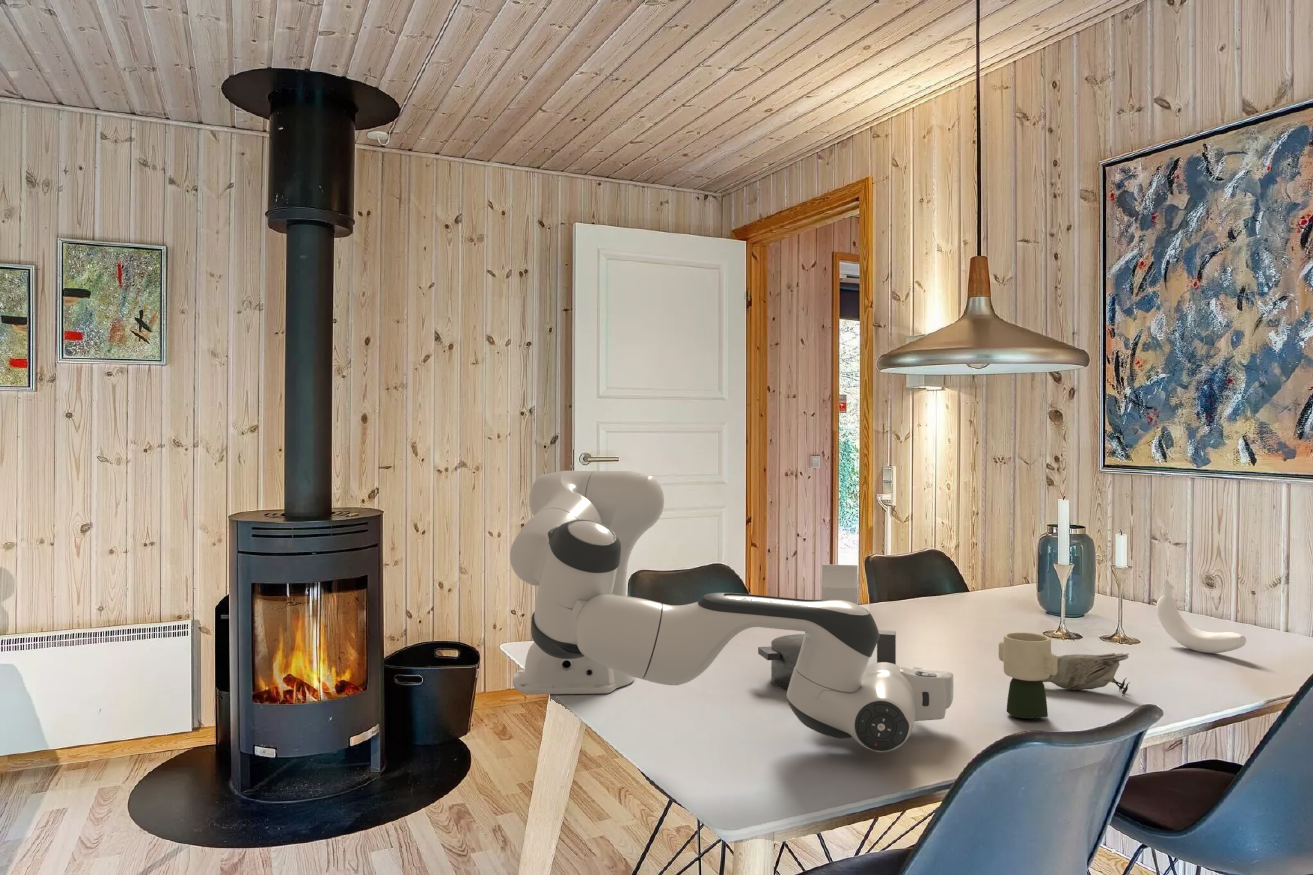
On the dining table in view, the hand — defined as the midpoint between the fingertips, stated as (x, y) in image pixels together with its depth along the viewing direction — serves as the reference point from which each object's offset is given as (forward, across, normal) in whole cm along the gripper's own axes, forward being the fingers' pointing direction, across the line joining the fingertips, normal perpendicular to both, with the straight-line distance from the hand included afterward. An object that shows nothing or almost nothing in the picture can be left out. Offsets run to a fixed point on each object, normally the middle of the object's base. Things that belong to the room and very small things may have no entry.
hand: (888, 670), depth 147 cm
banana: (+57, +61, -7) cm, 84 cm away
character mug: (+2, +22, -7) cm, 23 cm away
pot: (+13, -14, -6) cm, 20 cm away
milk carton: (+32, -11, -7) cm, 34 cm away
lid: (+4, 0, -7) cm, 8 cm away
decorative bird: (+20, +32, -7) cm, 39 cm away
